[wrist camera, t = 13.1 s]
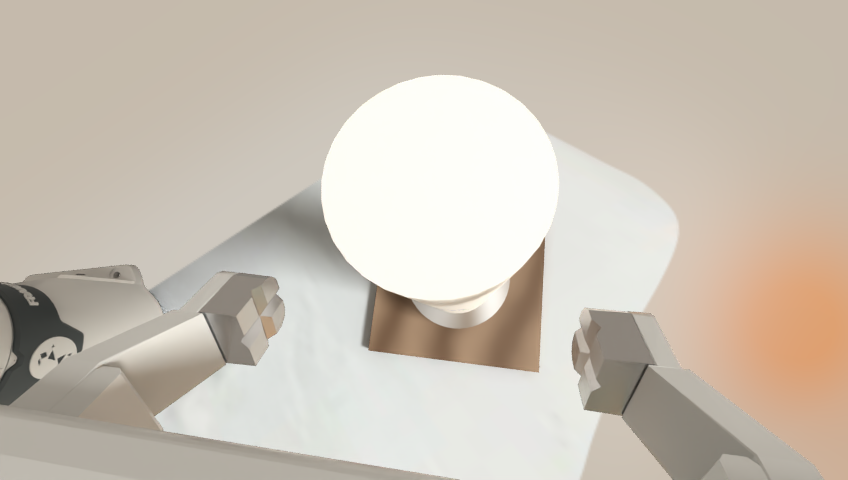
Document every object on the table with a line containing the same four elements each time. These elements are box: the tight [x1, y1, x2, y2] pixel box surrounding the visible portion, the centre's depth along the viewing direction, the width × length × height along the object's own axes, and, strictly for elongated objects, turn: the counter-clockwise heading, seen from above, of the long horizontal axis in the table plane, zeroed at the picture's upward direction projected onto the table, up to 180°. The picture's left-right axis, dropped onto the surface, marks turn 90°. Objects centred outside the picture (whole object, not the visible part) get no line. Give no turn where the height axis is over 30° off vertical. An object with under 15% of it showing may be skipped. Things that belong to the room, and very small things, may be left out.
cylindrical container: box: [321, 75, 559, 314], centre depth 23 cm, size 7×7×25 cm
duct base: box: [368, 237, 545, 372], centre depth 38 cm, size 18×17×6 cm
